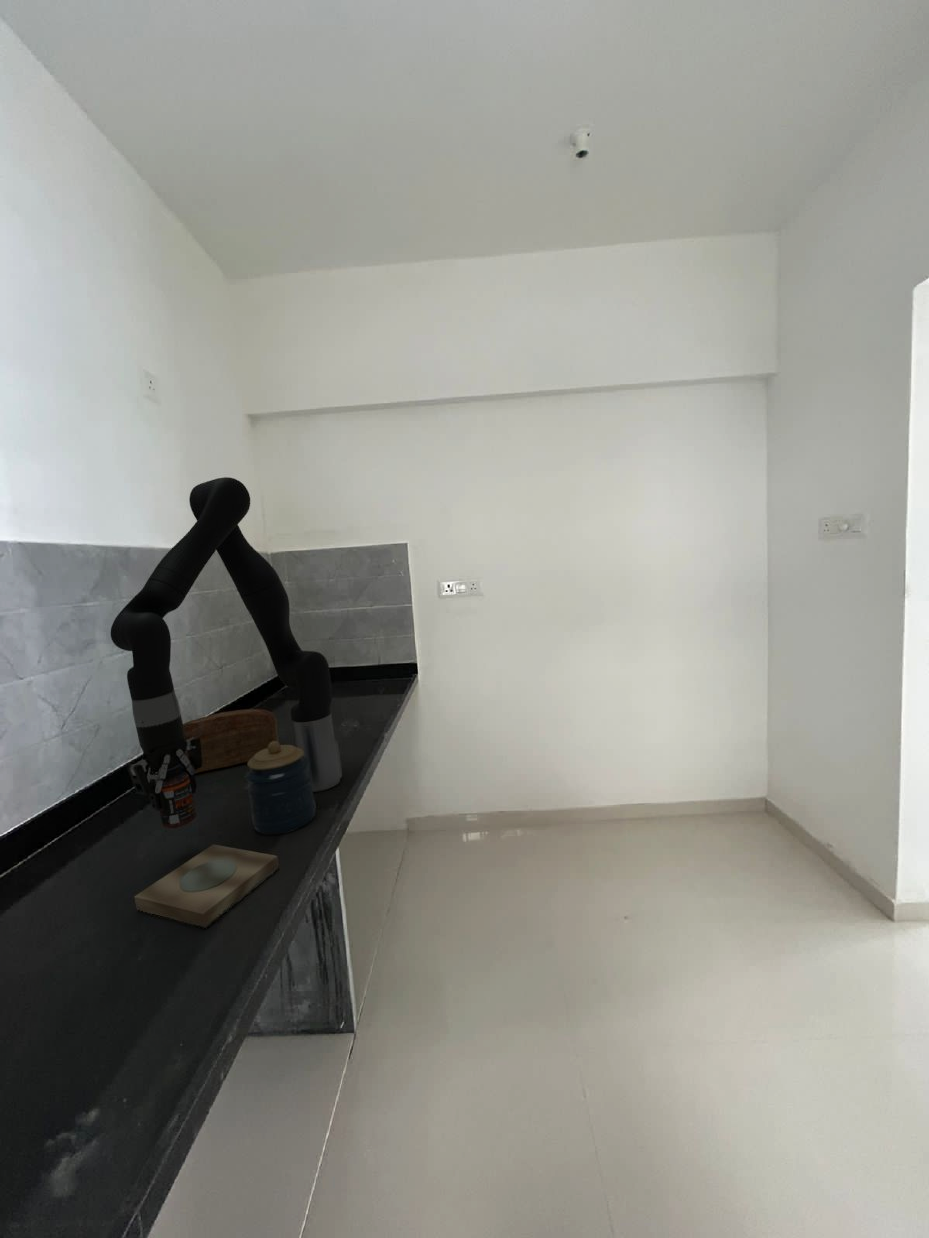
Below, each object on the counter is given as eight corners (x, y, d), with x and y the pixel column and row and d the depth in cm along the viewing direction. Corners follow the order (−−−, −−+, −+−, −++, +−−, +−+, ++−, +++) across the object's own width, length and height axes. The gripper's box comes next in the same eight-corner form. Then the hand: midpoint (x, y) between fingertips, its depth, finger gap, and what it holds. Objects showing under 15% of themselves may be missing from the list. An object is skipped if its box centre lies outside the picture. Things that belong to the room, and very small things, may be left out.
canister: (242, 825, 116) (229, 746, 114) (297, 800, 126) (285, 727, 123) (272, 843, 107) (258, 758, 105) (328, 815, 117) (317, 736, 114)
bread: (282, 758, 154) (274, 709, 152) (172, 782, 145) (163, 730, 143) (281, 745, 166) (274, 699, 164) (179, 766, 156) (170, 718, 154)
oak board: (215, 856, 105) (213, 843, 104) (279, 868, 98) (277, 854, 98) (136, 910, 90) (134, 895, 90) (205, 928, 84) (202, 912, 83)
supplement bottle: (183, 830, 101) (170, 773, 99) (155, 830, 102) (142, 773, 101) (204, 813, 107) (192, 759, 105) (177, 813, 108) (166, 760, 106)
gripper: (135, 733, 93) (155, 823, 96) (204, 705, 106) (220, 785, 109) (107, 731, 96) (127, 819, 99) (177, 704, 109) (194, 782, 112)
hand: (176, 801), depth 104 cm, fingers closed on supplement bottle, 6 cm apart
